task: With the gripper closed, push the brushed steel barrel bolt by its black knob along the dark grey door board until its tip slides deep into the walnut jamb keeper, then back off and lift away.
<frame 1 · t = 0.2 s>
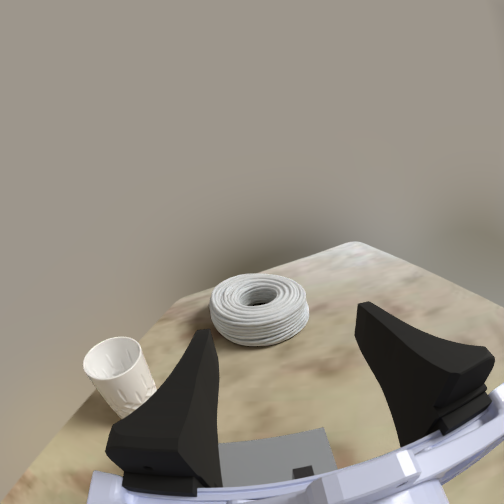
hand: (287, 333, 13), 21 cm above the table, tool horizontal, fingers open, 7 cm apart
cable: (260, 319, 50), on the table
bolt: (263, 494, 17), point 4 cm above the table, slide at 0.0 cm
white cup: (140, 408, 32), on the table
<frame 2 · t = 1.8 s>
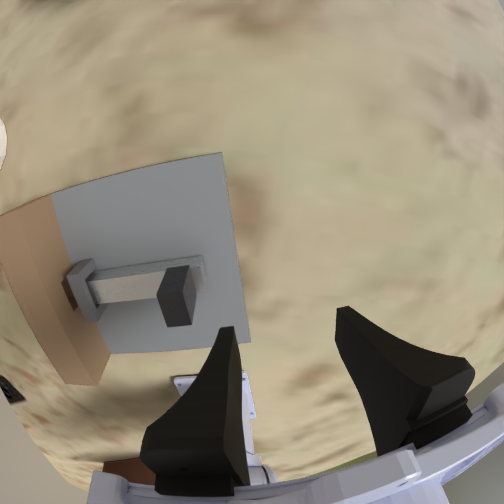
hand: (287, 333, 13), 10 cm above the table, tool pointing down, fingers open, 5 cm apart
bolt: (133, 293, 18), point 4 cm above the table, slide at 0.0 cm
letter holder: (151, 466, 38), on the table
door and jamb: (112, 272, 22), on the table
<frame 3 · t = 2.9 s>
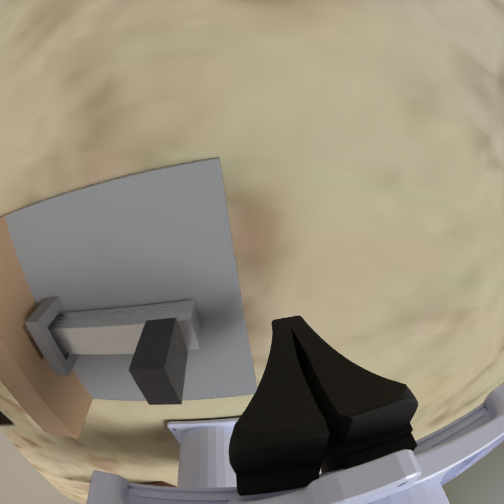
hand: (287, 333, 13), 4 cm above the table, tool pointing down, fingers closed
bolt: (105, 350, 13), point 4 cm above the table, slide at 0.0 cm
door and jamb: (84, 310, 16), on the table
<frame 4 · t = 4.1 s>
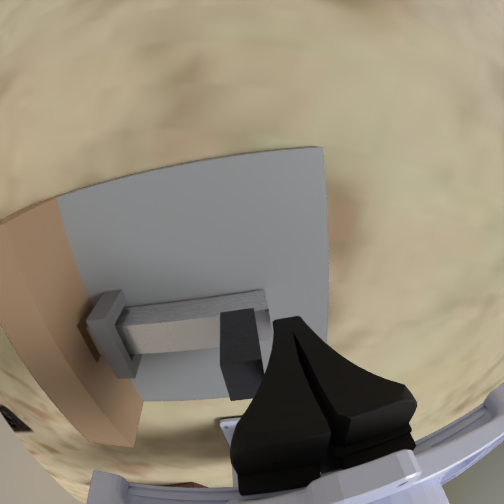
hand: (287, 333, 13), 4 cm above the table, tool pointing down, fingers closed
bolt: (170, 348, 13), point 4 cm above the table, slide at 1.2 cm, touching gripper
door and jamb: (146, 305, 17), on the table
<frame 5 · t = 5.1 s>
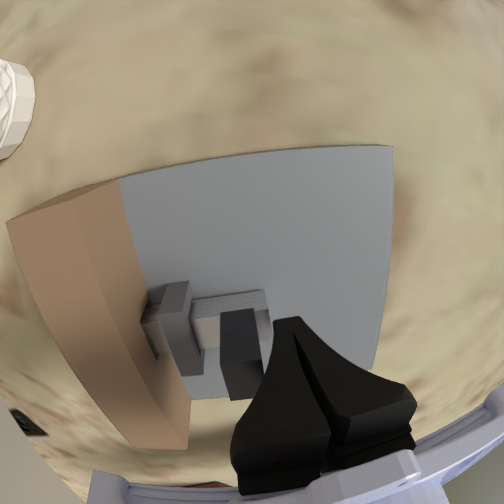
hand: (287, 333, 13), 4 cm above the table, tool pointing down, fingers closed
bolt: (170, 348, 13), point 4 cm above the table, slide at 5.2 cm, touching gripper
letter holder: (190, 493, 33), on the table
white cup: (5, 112, 11), on the table
door and jamb: (207, 297, 17), on the table
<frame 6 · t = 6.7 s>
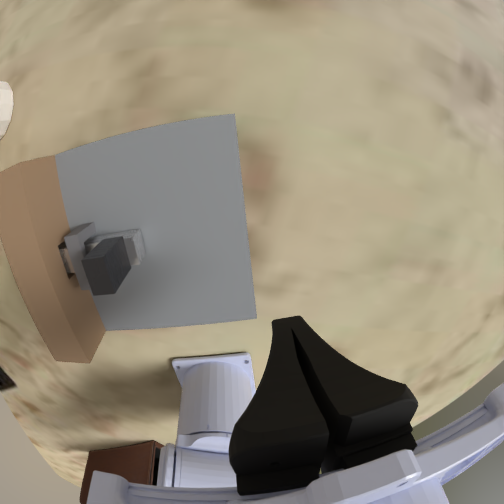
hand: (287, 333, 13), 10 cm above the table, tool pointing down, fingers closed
bolt: (72, 264, 17), point 4 cm above the table, slide at 5.2 cm
letter holder: (138, 457, 37), on the table
door and jamb: (112, 239, 21), on the table
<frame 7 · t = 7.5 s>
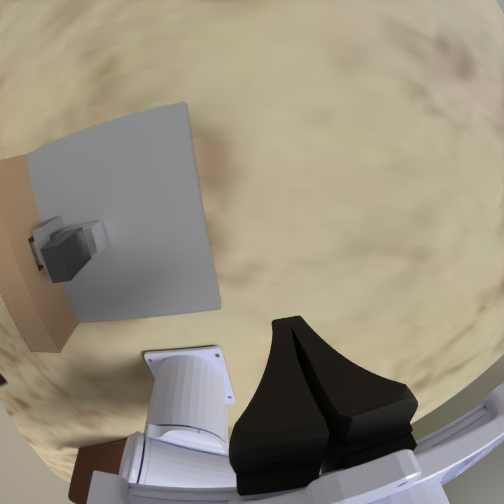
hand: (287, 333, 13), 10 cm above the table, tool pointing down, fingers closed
bolt: (40, 255, 16), point 4 cm above the table, slide at 5.2 cm
letter holder: (125, 453, 36), on the table
door and jamb: (80, 232, 20), on the table
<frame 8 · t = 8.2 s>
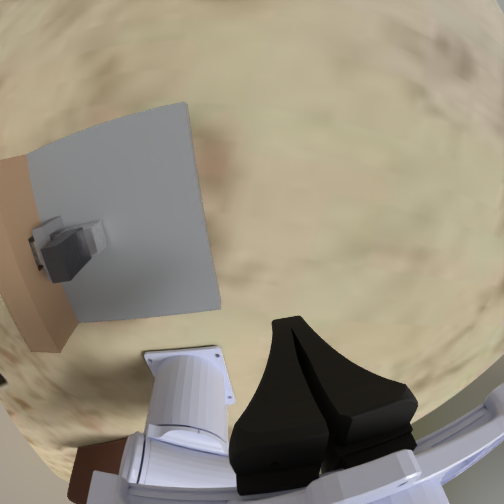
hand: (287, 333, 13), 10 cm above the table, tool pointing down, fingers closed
bolt: (40, 255, 16), point 4 cm above the table, slide at 5.2 cm
letter holder: (124, 453, 36), on the table
door and jamb: (80, 232, 20), on the table
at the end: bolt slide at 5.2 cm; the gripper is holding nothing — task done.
